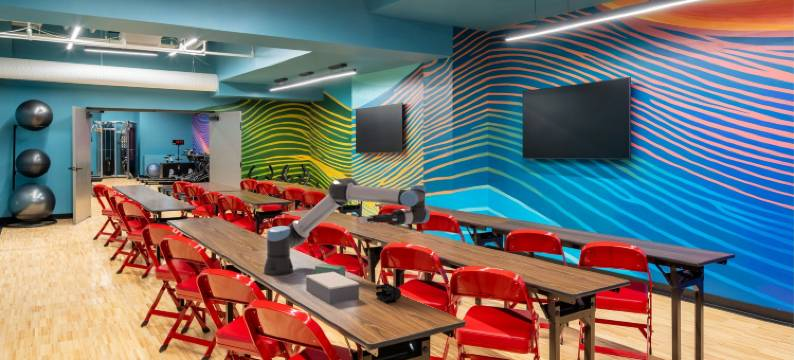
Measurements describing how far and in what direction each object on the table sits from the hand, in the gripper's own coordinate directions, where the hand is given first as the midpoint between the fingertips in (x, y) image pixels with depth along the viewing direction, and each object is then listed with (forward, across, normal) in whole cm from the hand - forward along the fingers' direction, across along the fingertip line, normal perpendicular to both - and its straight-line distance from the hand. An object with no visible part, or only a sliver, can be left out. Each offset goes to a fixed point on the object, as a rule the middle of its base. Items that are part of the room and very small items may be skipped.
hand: (360, 220), depth 234 cm
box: (+6, +19, -32) cm, 38 cm away
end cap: (-1, -24, -32) cm, 40 cm away
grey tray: (+16, -4, -32) cm, 36 cm away
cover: (+16, -4, -26) cm, 31 cm away
